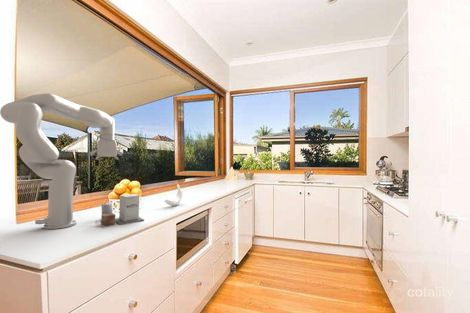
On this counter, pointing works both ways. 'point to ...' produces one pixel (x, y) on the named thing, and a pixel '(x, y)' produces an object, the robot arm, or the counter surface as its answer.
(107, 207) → the grey canister
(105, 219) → the walnut block
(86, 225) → the counter surface
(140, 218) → the charcoal mat
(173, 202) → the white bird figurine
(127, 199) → the supplement box
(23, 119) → the robot arm
